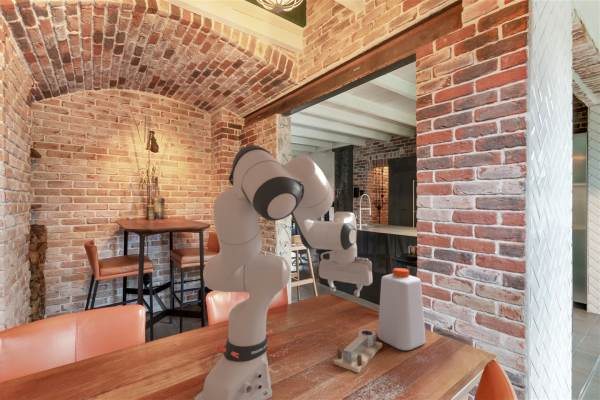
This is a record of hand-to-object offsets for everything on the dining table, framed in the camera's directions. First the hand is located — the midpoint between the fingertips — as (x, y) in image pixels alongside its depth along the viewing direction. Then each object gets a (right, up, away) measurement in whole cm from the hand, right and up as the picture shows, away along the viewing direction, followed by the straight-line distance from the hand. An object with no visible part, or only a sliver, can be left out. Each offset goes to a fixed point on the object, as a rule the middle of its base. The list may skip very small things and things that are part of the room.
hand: (344, 293), depth 105 cm
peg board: (+5, -21, -2) cm, 22 cm away
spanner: (+5, -20, -1) cm, 21 cm away
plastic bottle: (+24, -22, +9) cm, 33 cm away
